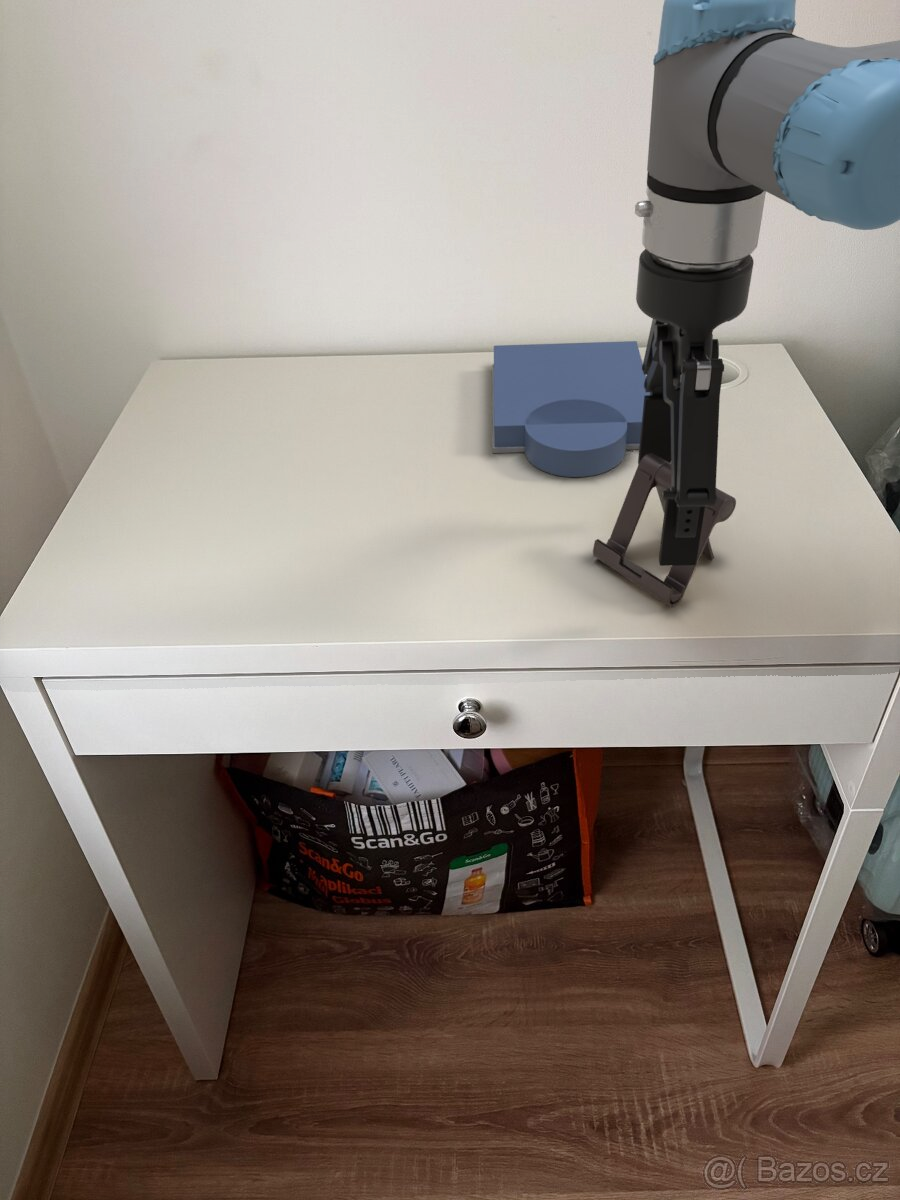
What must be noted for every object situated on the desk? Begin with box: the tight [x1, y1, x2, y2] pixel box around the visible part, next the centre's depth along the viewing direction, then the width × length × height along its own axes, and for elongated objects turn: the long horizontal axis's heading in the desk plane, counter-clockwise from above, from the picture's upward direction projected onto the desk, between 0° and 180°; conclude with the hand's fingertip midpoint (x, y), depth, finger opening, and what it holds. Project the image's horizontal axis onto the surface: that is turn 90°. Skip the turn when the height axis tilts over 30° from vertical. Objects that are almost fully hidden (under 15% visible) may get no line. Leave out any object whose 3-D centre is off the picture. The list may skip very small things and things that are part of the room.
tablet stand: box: [592, 453, 737, 608], centre depth 79 cm, size 9×8×8 cm
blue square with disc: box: [491, 340, 650, 478], centre depth 101 cm, size 23×16×3 cm
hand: (664, 510), depth 78 cm, fingers open, 13 cm apart
